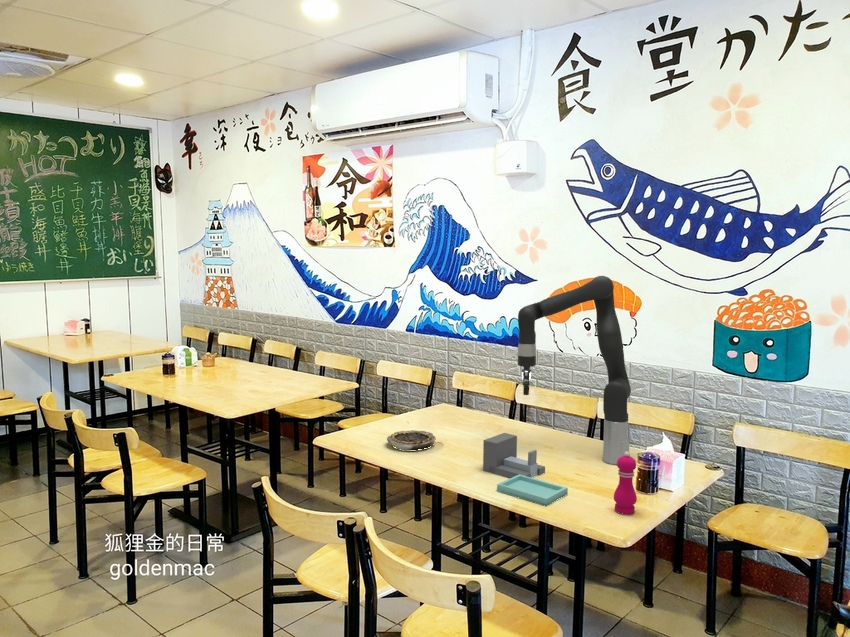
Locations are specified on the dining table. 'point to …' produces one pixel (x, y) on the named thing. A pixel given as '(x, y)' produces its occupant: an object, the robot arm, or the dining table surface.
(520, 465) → the grey block with peg
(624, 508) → the pepper mill
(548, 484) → the tray
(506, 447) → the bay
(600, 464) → the dining table surface
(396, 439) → the pie
